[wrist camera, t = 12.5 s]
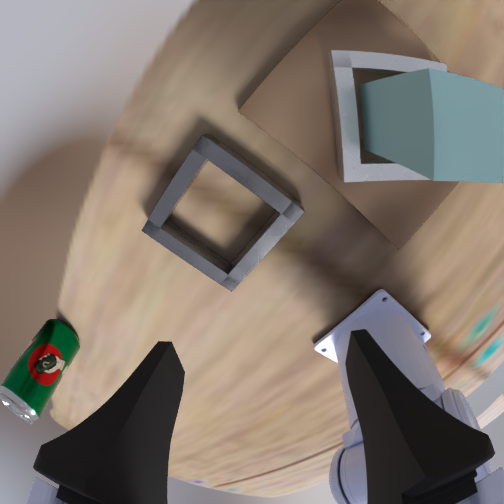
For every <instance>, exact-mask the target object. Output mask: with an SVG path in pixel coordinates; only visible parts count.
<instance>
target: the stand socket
mask: <svg viewBox="0 0 504 504" xmlns="http://www.w3.org/2000/svg"><path fill="white" fill-rule="evenodd" d="M208 160H209V161H210V162H212V163H213V164H215V165H216V166H217V167H219V168H220V169H222V170H223V171H224V172H226V173H227V174H228V175H230V176H231V177H233V178H234V179H235V180H237V181H238V182H239V183H241V184H242V185H244V186H245V187H246V188H248V189H249V190H250V191H252V192H253V193H254V194H256V195H257V196H258V197H260V198H261V199H262V200H264V201H265V202H266V203H268V204H269V205H270V206H271V207H273V208H274V209H275V210H277V211H276V212H275V213H274V214H273V215H272V216H271V218H270V219H269V220H268V221H267V222H266V223H265V225H264V226H263V227H262V228H261V229H260V230H259V232H258V233H257V234H256V235H255V236H254V237H253V239H252V240H251V241H250V242H249V243H248V244H247V245H246V247H245V248H244V249H243V250H242V251H241V252H240V254H239V255H238V256H237V257H236V258H235V259H234V261H233V262H232V263H229V262H228V261H226V260H225V259H223V258H222V257H220V256H219V255H218V254H216V253H215V252H213V251H212V250H210V249H209V248H207V247H206V246H204V245H203V244H202V243H200V242H199V241H197V240H196V239H194V238H193V237H191V236H190V235H189V234H187V233H186V232H184V231H183V230H181V229H180V228H179V227H177V226H176V225H174V224H173V223H171V222H170V221H169V220H168V218H169V217H170V215H171V213H172V212H173V210H174V209H175V207H176V206H177V204H178V203H179V201H180V200H181V198H182V197H183V195H184V194H185V192H186V191H187V189H188V188H189V186H190V185H191V183H192V182H193V181H194V179H195V178H196V176H197V175H198V173H199V172H200V171H201V169H202V168H203V166H204V165H205V164H206V162H207V161H208ZM303 213H304V209H303V206H302V204H301V203H300V202H298V201H297V200H296V199H295V198H293V197H292V196H291V195H290V194H288V193H287V192H286V191H285V190H283V189H282V188H281V187H280V186H278V185H277V184H276V183H274V182H273V181H272V180H271V179H269V178H268V177H267V176H265V175H264V174H263V173H261V172H260V171H259V170H257V169H256V168H255V167H253V166H252V165H251V164H249V163H248V162H247V161H245V160H244V159H243V158H241V157H240V156H239V155H237V154H236V153H235V152H233V151H232V150H230V149H229V148H228V147H226V146H225V145H223V144H222V143H221V142H219V141H218V140H216V139H215V138H214V137H212V136H211V135H209V134H205V135H202V137H201V138H200V140H199V141H198V142H197V144H196V145H195V147H194V148H193V150H192V151H191V152H190V154H189V155H188V157H187V158H186V160H185V161H184V163H183V164H182V166H181V167H180V169H179V170H178V172H177V173H176V175H175V176H174V178H173V179H172V181H171V183H170V184H169V186H168V187H167V189H166V191H165V192H164V194H163V195H162V197H161V199H160V200H159V202H158V203H157V205H156V207H155V208H154V210H153V212H152V214H151V215H150V217H149V219H148V220H147V222H146V224H145V226H144V227H143V229H142V231H143V232H144V233H146V234H147V235H149V236H150V237H151V238H153V239H154V240H156V241H157V242H159V243H160V244H161V245H163V246H164V247H166V248H167V249H169V250H170V251H171V252H173V253H174V254H176V255H177V256H179V257H180V258H182V259H183V260H185V261H186V262H188V263H189V264H190V265H192V266H193V267H195V268H196V269H198V270H199V271H201V272H202V273H204V274H205V275H207V276H208V277H210V278H211V279H213V280H214V281H216V282H217V283H219V284H221V285H222V286H224V287H225V288H227V289H228V290H230V291H231V292H232V291H233V290H234V289H235V288H236V287H237V286H238V285H239V283H240V282H241V281H242V280H243V279H244V278H245V277H246V276H247V275H248V274H249V273H250V271H251V270H252V269H253V268H254V267H255V266H256V265H257V264H258V263H259V262H260V261H261V259H262V258H263V257H264V256H265V255H266V254H267V253H268V252H269V251H270V250H271V249H272V247H273V246H274V245H275V244H276V243H277V242H278V241H279V240H280V239H281V238H282V236H283V235H284V234H285V233H286V232H287V231H288V230H289V229H290V228H291V226H292V225H293V224H294V223H295V222H296V221H297V220H298V219H299V218H300V217H301V215H302V214H303Z"/></svg>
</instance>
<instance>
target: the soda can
mask: <svg viewBox="0 0 504 504" xmlns="http://www.w3.org/2000/svg"><path fill="white" fill-rule="evenodd" d="M79 349H80V345H79V340H78V337H77V335H76V334H75V332H74V331H73V330H72V329H71V328H70V327H69V326H68V325H67V324H66V323H64V322H62V321H60V320H57V319H50V320H48V321H47V322H46V323H45V324H44V325H43V327H42V328H41V329H40V330H39V332H38V333H37V334H36V336H35V337H34V338H33V339H32V341H31V342H30V343H29V345H28V346H27V347H26V349H25V350H24V352H23V353H22V354H21V356H20V357H19V359H18V360H17V362H16V363H15V364H14V366H13V367H12V369H11V370H10V372H9V373H8V375H7V376H6V377H5V379H4V381H3V382H2V384H1V393H0V399H1V400H2V402H3V403H4V404H5V405H6V406H7V407H8V408H9V409H10V410H11V411H12V412H13V413H15V414H16V415H17V416H19V417H20V418H21V419H23V420H24V421H26V422H28V423H30V424H33V421H35V420H37V419H40V417H41V415H42V413H43V412H44V410H45V407H46V406H47V404H48V402H49V400H50V398H51V397H52V395H53V393H54V391H55V389H56V388H57V386H58V384H59V382H60V381H61V379H62V377H63V376H64V374H65V372H66V371H67V369H68V367H69V365H70V364H71V362H72V361H73V359H74V357H75V356H76V354H77V352H78V351H79Z"/></svg>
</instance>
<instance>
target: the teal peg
mask: <svg viewBox="0 0 504 504" xmlns="http://www.w3.org/2000/svg"><path fill="white" fill-rule="evenodd" d="M359 90H360V99H361V110H362V122H363V136H364V150H367V151H369V152H372V153H374V154H377V155H379V156H381V157H384V158H386V159H388V160H391V161H393V162H395V163H397V164H400V165H402V166H404V167H406V168H408V169H410V170H412V171H414V172H417V173H419V174H421V175H423V176H425V177H427V178H429V179H431V180H433V181H464V182H490V183H503V178H504V95H503V88H500V87H498V86H495V85H492V84H489V83H486V82H482V81H479V80H476V79H472V78H469V77H465V76H461V75H457V74H453V73H449V72H445V71H440V70H436V69H431V68H427V69H422V70H417V71H412V72H408V73H403V74H399V75H395V76H391V77H387V78H383V79H379V80H375V81H372V82H368V83H365V84H361V85H359Z"/></svg>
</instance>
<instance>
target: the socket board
mask: <svg viewBox="0 0 504 504" xmlns="http://www.w3.org/2000/svg"><path fill="white" fill-rule="evenodd" d="M427 68H431V69H436V70H440V71H445V72H448V71H447V65H446V64H444V63H440V61H439V60H438V59H437V58H436V57H435V56H434V54H433V53H432V52H431V51H430V50H429V49H428V48H427V47H426V46H425V44H424V43H423V42H422V41H421V40H420V39H419V38H418V37H417V36H416V35H415V34H414V33H413V32H412V31H411V30H410V29H409V28H408V27H407V26H406V25H405V24H404V23H403V22H402V21H401V20H399V19H398V18H397V17H396V16H395V15H394V14H393V13H392V12H391V11H389V10H388V9H387V8H386V7H385V6H384V5H382V4H381V3H380V2H379V1H378V0H341V1H340V2H339V3H338V4H337V5H336V6H335V7H334V8H333V9H332V10H330V11H329V12H328V13H327V14H326V15H325V16H324V17H323V18H322V19H321V20H320V21H319V22H318V23H317V24H316V25H315V26H314V27H313V28H312V29H311V30H310V31H309V32H308V33H307V34H306V35H305V36H304V37H303V38H302V39H301V40H300V41H299V42H298V43H297V44H296V45H295V46H294V47H293V48H292V49H291V50H290V52H289V53H288V54H287V55H286V56H285V57H284V58H283V59H282V60H281V61H280V62H279V63H278V65H277V66H276V67H275V68H274V69H273V70H272V71H271V72H270V74H269V75H268V76H267V77H266V78H265V79H264V81H263V82H262V83H261V84H260V85H259V86H258V88H257V89H256V90H255V91H254V92H253V94H252V95H251V96H250V97H249V98H248V100H247V101H246V102H245V103H244V105H243V106H242V107H241V108H240V110H239V111H238V112H239V113H241V114H242V115H243V116H245V117H246V118H248V119H249V120H250V121H252V122H253V123H254V124H256V125H257V126H258V127H260V128H261V129H263V130H264V131H265V132H267V133H268V134H269V135H270V136H272V137H273V138H274V139H276V140H277V141H278V142H280V143H281V144H282V145H283V146H285V147H286V148H287V149H288V150H290V151H291V152H292V153H293V154H295V155H296V156H297V157H298V158H300V159H301V160H302V161H303V162H304V163H306V164H307V165H308V166H309V167H310V168H312V169H313V170H314V171H315V172H316V173H317V174H319V175H320V176H321V177H322V178H323V179H324V180H326V181H327V182H328V183H329V184H330V185H331V186H332V187H333V188H335V189H336V190H337V191H338V192H339V193H340V194H341V195H342V196H343V197H345V198H346V199H347V200H348V201H349V202H350V203H351V204H352V205H353V206H354V207H355V208H356V209H357V210H358V211H359V212H361V213H362V214H363V215H364V216H365V217H366V218H367V219H368V220H369V221H370V222H371V223H372V224H373V225H374V226H375V227H376V228H377V229H378V230H379V231H380V232H381V233H382V234H383V235H384V236H385V237H386V238H387V239H388V240H389V241H390V242H391V243H392V244H393V245H394V247H395V248H396V249H397V250H399V249H400V248H401V247H402V246H403V245H404V244H405V243H406V242H407V241H408V240H409V238H410V237H411V236H412V235H413V234H414V233H415V232H416V231H417V230H418V229H419V228H420V227H421V226H422V224H423V223H424V222H425V221H426V220H427V219H428V218H429V217H430V216H431V214H432V213H433V212H434V211H435V210H436V209H437V208H438V206H439V205H440V204H441V203H442V202H443V201H444V199H445V198H446V197H447V196H448V195H449V193H450V192H451V191H452V190H453V189H454V187H455V186H456V185H457V184H458V182H459V181H433V180H431V179H429V178H427V177H425V176H423V175H421V174H419V173H417V172H414V171H412V170H410V169H408V168H406V167H404V166H402V165H400V164H397V163H395V162H393V161H391V160H388V159H386V158H384V157H381V156H379V155H377V154H374V153H372V152H369V151H367V150H364V136H363V122H362V110H361V99H360V90H359V85H361V84H365V83H368V82H372V81H375V80H379V79H383V78H387V77H391V76H395V75H399V74H403V73H408V72H412V71H417V70H422V69H427Z"/></svg>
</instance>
